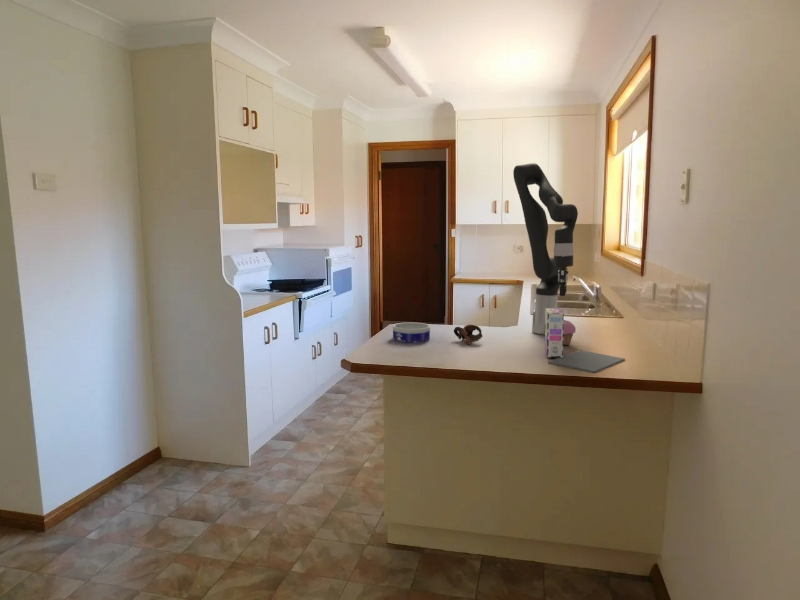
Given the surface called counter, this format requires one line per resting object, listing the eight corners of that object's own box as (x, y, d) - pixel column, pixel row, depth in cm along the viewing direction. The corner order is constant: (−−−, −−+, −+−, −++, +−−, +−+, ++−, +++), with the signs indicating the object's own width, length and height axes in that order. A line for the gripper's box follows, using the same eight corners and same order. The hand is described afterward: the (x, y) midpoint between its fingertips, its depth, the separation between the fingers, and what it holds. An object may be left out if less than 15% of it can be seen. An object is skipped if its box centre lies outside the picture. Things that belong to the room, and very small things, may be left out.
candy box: (563, 358, 197) (564, 312, 195) (546, 357, 198) (546, 312, 196) (560, 350, 210) (560, 307, 208) (544, 350, 211) (544, 307, 210)
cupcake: (568, 342, 226) (569, 318, 224) (578, 346, 217) (580, 322, 216) (547, 342, 224) (549, 318, 223) (557, 347, 216) (558, 322, 214)
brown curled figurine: (482, 341, 228) (486, 326, 223) (476, 355, 221) (479, 340, 216) (454, 332, 231) (458, 317, 226) (447, 346, 224) (450, 331, 218)
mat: (548, 363, 193) (548, 361, 192) (580, 351, 209) (580, 350, 209) (594, 372, 181) (594, 371, 181) (624, 360, 198) (624, 358, 198)
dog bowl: (386, 341, 224) (386, 326, 224) (403, 334, 238) (403, 320, 237) (419, 345, 217) (420, 330, 217) (435, 338, 231) (435, 324, 230)
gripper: (554, 253, 229) (554, 292, 231) (552, 255, 216) (552, 296, 218) (573, 253, 227) (573, 292, 229) (572, 255, 213) (572, 296, 215)
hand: (563, 294), depth 223 cm, fingers open, 8 cm apart
